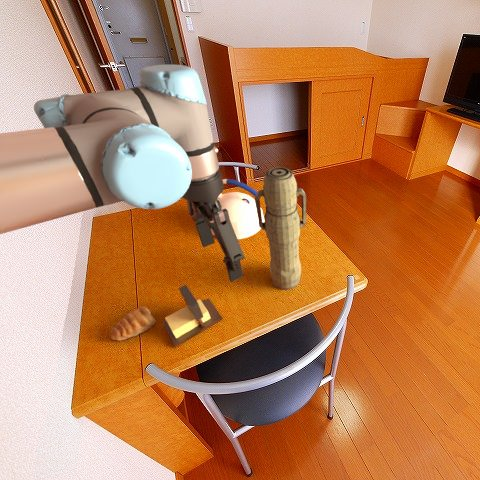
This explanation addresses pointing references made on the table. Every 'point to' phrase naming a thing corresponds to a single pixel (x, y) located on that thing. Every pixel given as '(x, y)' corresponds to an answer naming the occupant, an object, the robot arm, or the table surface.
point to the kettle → (241, 210)
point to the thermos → (282, 225)
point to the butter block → (181, 321)
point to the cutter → (191, 303)
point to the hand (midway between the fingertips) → (221, 260)
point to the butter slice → (203, 311)
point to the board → (188, 335)
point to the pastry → (133, 324)
